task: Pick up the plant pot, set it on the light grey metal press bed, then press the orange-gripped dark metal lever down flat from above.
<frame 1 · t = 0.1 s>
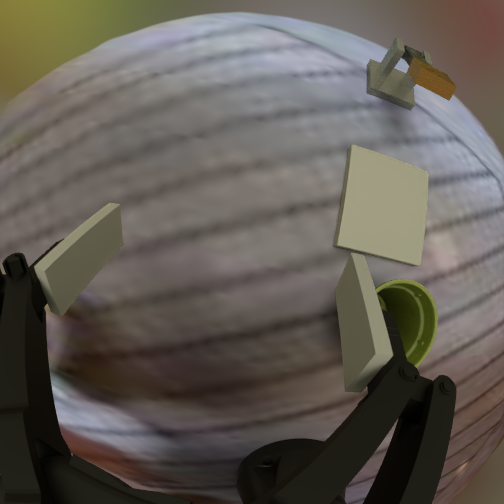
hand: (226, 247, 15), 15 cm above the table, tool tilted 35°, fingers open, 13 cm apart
press bed: (383, 207, 30), on the table
press lever: (421, 66, 20), point 10 cm above the table, hinge at 25.0°
plant pot: (363, 315, 30), on the table
lever stand: (388, 86, 30), on the table
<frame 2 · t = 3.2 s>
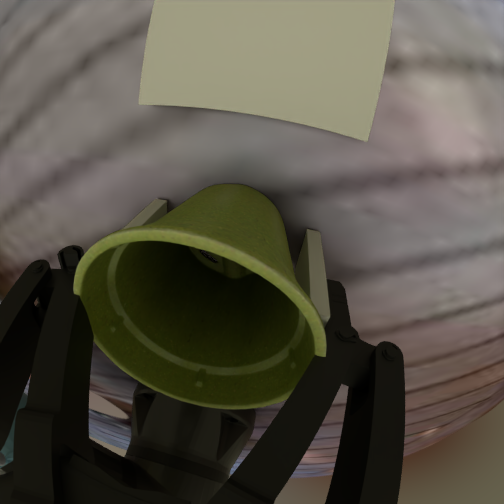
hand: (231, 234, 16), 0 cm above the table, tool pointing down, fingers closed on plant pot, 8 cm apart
press bed: (272, 6, 9), on the table
plant pot: (234, 230, 16), on the table, touching gripper
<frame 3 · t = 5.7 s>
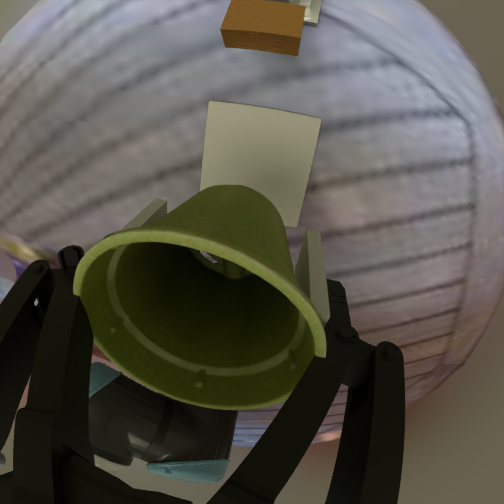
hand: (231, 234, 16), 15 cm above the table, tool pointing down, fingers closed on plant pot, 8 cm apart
press bed: (257, 162, 28), on the table
plant pot: (234, 231, 16), point 14 cm above the table, touching gripper
when the fingers open (3 cm above the table, at t = 8.3 s): plant pot drops 1 cm, resting on press bed.
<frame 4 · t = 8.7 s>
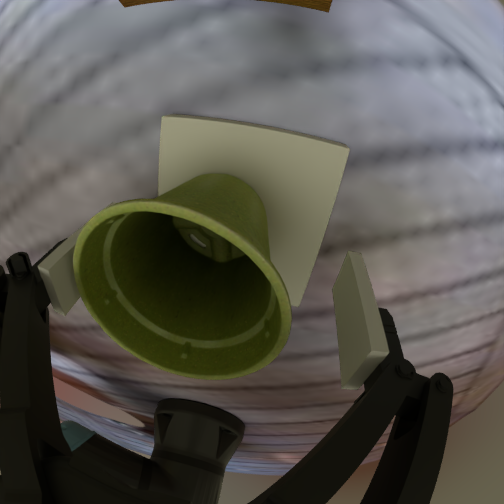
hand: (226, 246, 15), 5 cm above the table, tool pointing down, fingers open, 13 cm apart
press bed: (241, 211, 19), on the table
plant pot: (221, 217, 18), point 1 cm above the table, touching press bed
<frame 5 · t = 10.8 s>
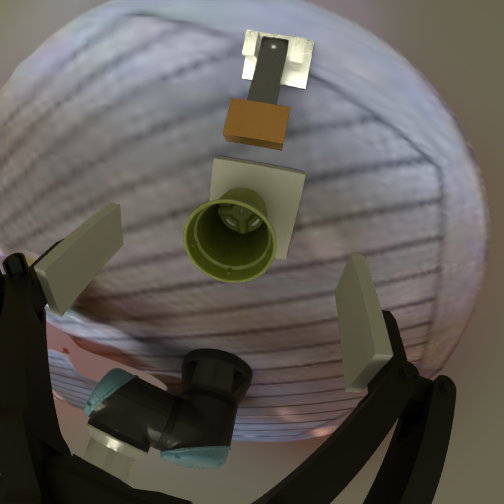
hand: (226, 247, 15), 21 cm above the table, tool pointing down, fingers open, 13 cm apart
press bed: (253, 207, 35), on the table
press lever: (266, 84, 19), point 10 cm above the table, hinge at 25.0°
plant pot: (243, 209, 34), point 1 cm above the table, touching press bed
lever stand: (278, 60, 25), on the table
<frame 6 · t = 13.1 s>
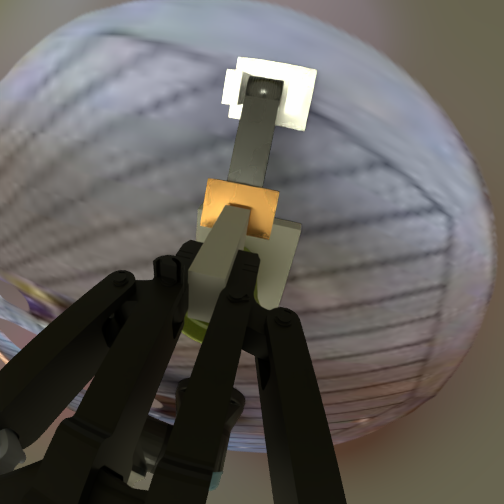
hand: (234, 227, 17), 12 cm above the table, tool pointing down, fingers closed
press bed: (243, 258, 33), on the table
press lever: (252, 150, 17), point 10 cm above the table, hinge at 18.8°, touching gripper
plant pot: (231, 262, 32), point 1 cm above the table, touching press bed
lever stand: (272, 92, 22), on the table
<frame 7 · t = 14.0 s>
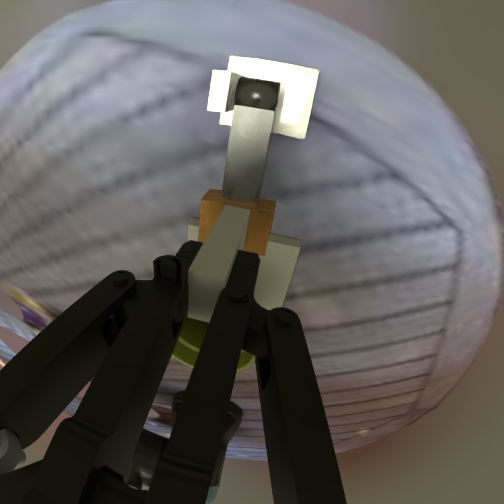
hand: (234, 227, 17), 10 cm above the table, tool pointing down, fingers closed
press bed: (238, 275, 31), on the table
press lever: (245, 165, 16), point 8 cm above the table, hinge at 0.3°, touching gripper
plant pot: (225, 280, 30), point 1 cm above the table, touching press bed
lever stand: (269, 95, 20), on the table
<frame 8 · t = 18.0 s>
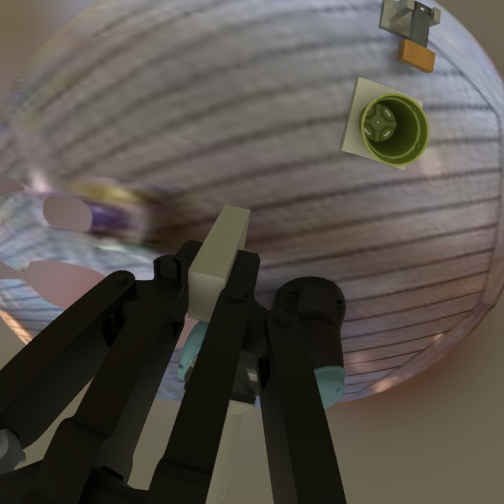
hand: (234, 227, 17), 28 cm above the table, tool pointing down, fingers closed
press bed: (381, 123, 35), on the table
press lever: (419, 33, 21), point 8 cm above the table, hinge at 0.2°
plant pot: (377, 122, 34), point 1 cm above the table, touching press bed
lever stand: (401, 21, 25), on the table
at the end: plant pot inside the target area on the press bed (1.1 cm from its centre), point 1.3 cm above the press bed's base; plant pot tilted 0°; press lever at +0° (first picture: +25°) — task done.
